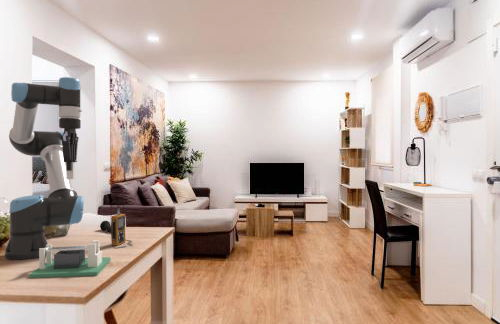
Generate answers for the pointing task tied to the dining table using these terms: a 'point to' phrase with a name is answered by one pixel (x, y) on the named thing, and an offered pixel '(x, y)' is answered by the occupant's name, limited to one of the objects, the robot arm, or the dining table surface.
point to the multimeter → (118, 228)
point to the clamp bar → (65, 248)
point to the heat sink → (69, 259)
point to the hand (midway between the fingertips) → (70, 179)
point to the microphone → (105, 226)
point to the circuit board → (88, 268)
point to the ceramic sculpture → (56, 230)
